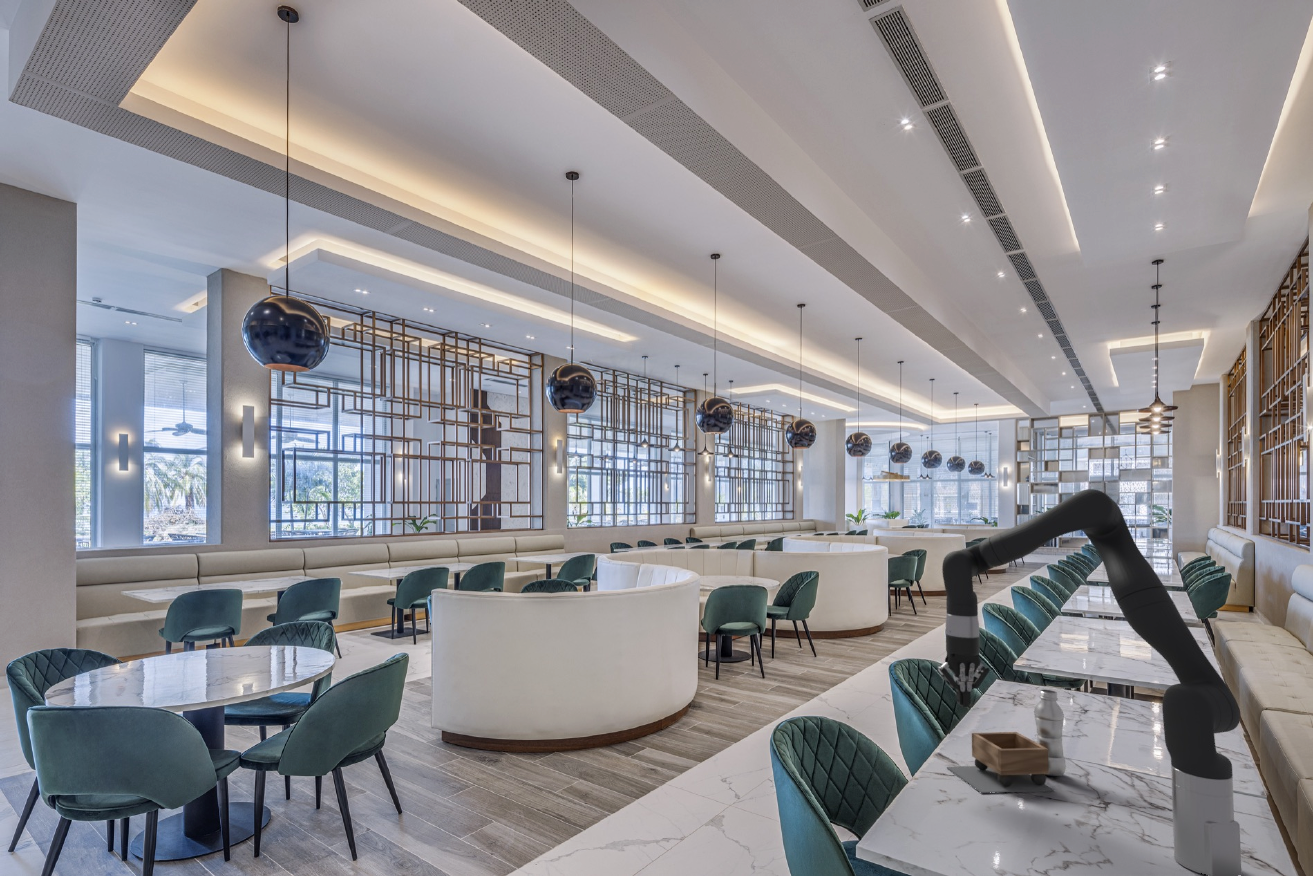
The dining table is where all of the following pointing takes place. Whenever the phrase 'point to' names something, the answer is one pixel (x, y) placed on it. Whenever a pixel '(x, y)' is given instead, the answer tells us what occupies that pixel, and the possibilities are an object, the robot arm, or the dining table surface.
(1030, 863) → the dining table surface
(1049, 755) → the plastic bottle
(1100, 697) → the dining table surface
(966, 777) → the gray mat
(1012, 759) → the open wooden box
